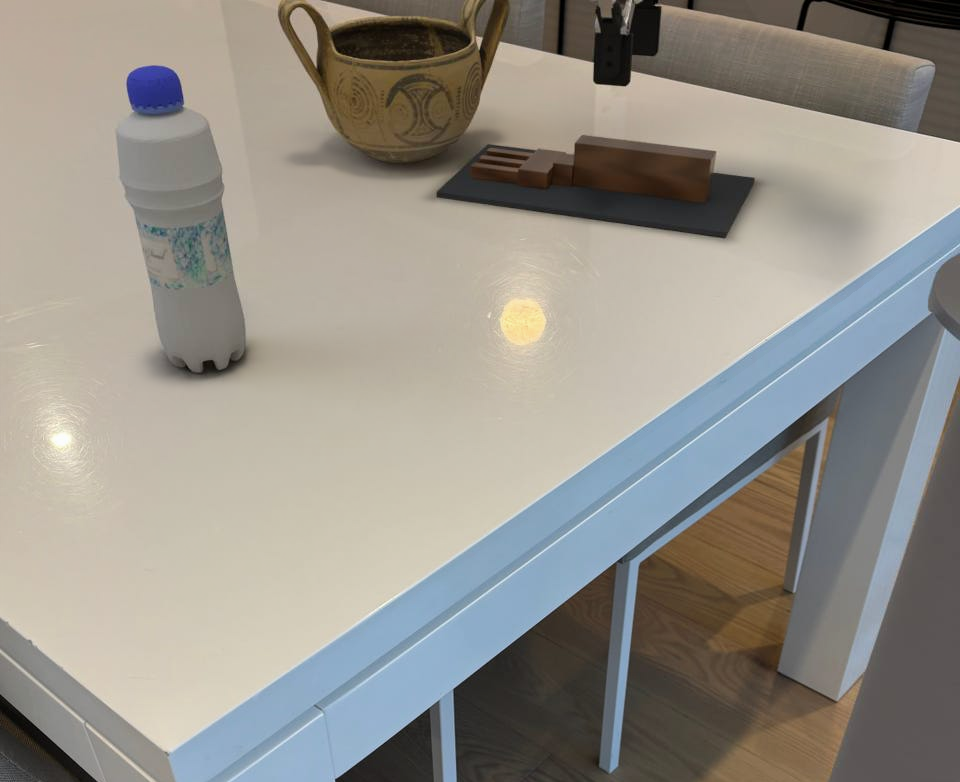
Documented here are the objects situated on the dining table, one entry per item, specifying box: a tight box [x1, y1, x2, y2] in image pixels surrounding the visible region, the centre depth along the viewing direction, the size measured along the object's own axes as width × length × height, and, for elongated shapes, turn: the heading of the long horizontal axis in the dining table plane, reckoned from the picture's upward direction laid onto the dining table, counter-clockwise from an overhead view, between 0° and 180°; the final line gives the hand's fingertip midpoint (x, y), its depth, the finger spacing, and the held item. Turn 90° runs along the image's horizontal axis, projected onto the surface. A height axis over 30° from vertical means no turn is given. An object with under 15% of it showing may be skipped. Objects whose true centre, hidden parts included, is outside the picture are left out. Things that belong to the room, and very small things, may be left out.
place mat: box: [436, 143, 756, 238], centre depth 104 cm, size 28×14×1 cm, turn 69°
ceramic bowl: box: [277, 0, 511, 164], centre depth 107 cm, size 22×17×15 cm
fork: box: [471, 134, 717, 203], centre depth 103 cm, size 23×6×4 cm, turn 69°
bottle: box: [115, 64, 247, 374], centre depth 74 cm, size 7×7×20 cm
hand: (626, 69), depth 96 cm, fingers open, 9 cm apart
